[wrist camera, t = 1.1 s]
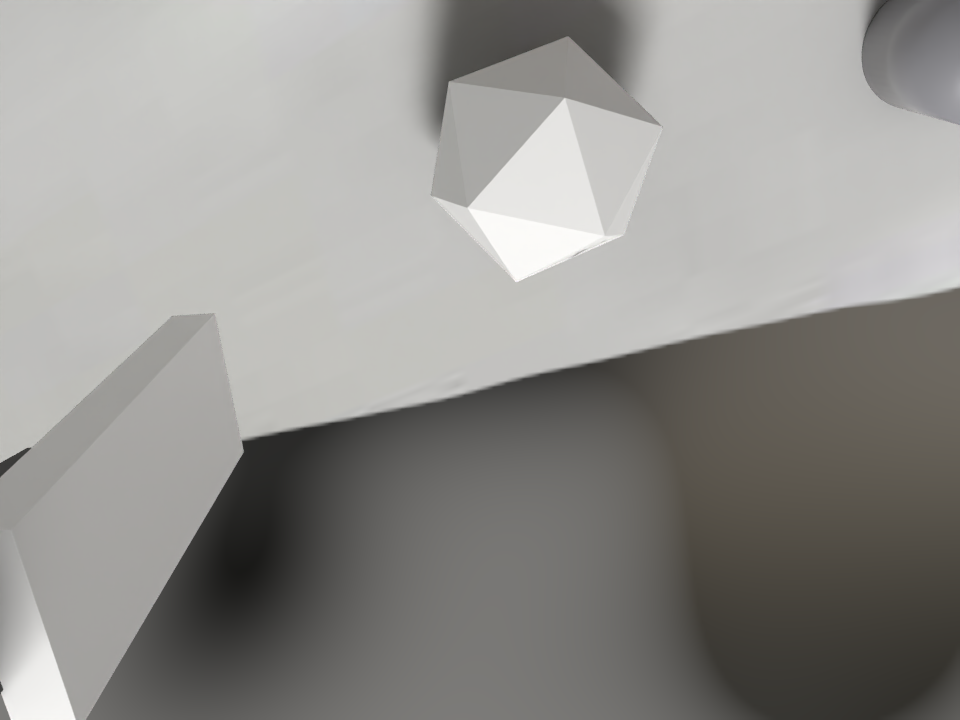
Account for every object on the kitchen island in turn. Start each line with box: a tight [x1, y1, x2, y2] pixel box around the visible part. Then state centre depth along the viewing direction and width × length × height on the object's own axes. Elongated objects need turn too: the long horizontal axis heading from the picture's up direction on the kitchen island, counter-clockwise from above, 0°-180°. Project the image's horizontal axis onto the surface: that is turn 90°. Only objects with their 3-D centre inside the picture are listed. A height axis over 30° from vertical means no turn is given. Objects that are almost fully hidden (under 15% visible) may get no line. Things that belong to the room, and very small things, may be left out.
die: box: [431, 36, 663, 282], centre depth 34 cm, size 8×9×10 cm
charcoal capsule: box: [862, 0, 960, 125], centre depth 33 cm, size 5×5×6 cm
